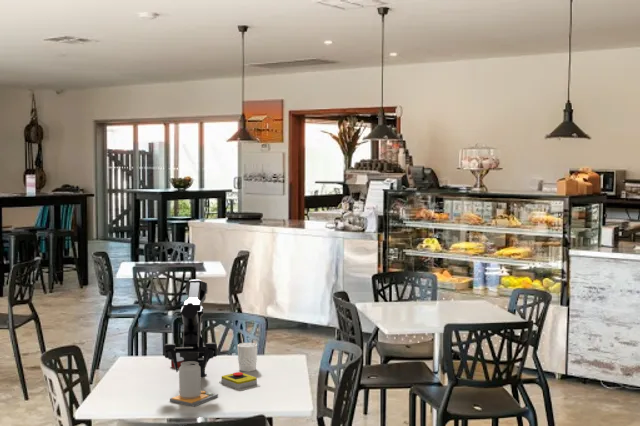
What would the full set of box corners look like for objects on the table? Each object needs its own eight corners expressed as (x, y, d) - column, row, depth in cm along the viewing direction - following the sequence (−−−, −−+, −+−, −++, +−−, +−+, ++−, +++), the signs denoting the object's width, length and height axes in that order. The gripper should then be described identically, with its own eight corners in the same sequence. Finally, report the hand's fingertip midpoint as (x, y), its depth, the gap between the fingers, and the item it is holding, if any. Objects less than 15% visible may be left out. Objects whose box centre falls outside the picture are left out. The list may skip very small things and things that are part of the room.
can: (205, 395, 290) (204, 362, 289) (189, 401, 284) (188, 366, 283) (191, 392, 295) (190, 359, 294) (175, 397, 289) (174, 363, 288)
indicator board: (169, 401, 289) (169, 397, 288) (194, 392, 300) (194, 388, 299) (193, 406, 283) (193, 402, 283) (217, 396, 294) (217, 392, 294)
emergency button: (237, 367, 318) (261, 375, 307) (238, 379, 319) (261, 387, 307) (217, 372, 312) (241, 380, 301) (218, 383, 313) (241, 392, 301)
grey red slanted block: (193, 378, 335) (193, 360, 329) (168, 376, 335) (168, 357, 329) (198, 359, 344) (198, 341, 339) (174, 357, 344) (174, 339, 339)
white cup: (261, 368, 332) (261, 344, 331) (249, 373, 326) (249, 348, 325) (245, 365, 336) (245, 341, 336) (233, 370, 330) (233, 345, 329)
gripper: (217, 344, 308) (217, 381, 298) (166, 345, 306) (165, 383, 296) (216, 328, 300) (216, 366, 290) (164, 329, 298) (162, 367, 288)
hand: (190, 371), depth 291 cm, fingers open, 9 cm apart
